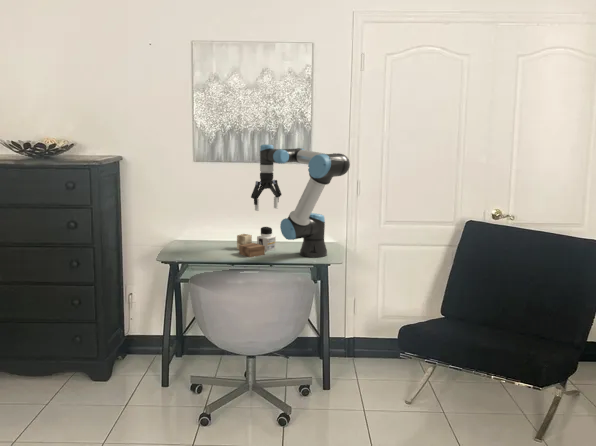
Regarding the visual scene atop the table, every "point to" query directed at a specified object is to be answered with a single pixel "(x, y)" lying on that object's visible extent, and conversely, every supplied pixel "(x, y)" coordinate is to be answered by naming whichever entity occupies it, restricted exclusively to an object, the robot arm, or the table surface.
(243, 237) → the maple block
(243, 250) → the walnut block
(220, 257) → the table surface
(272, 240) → the container
